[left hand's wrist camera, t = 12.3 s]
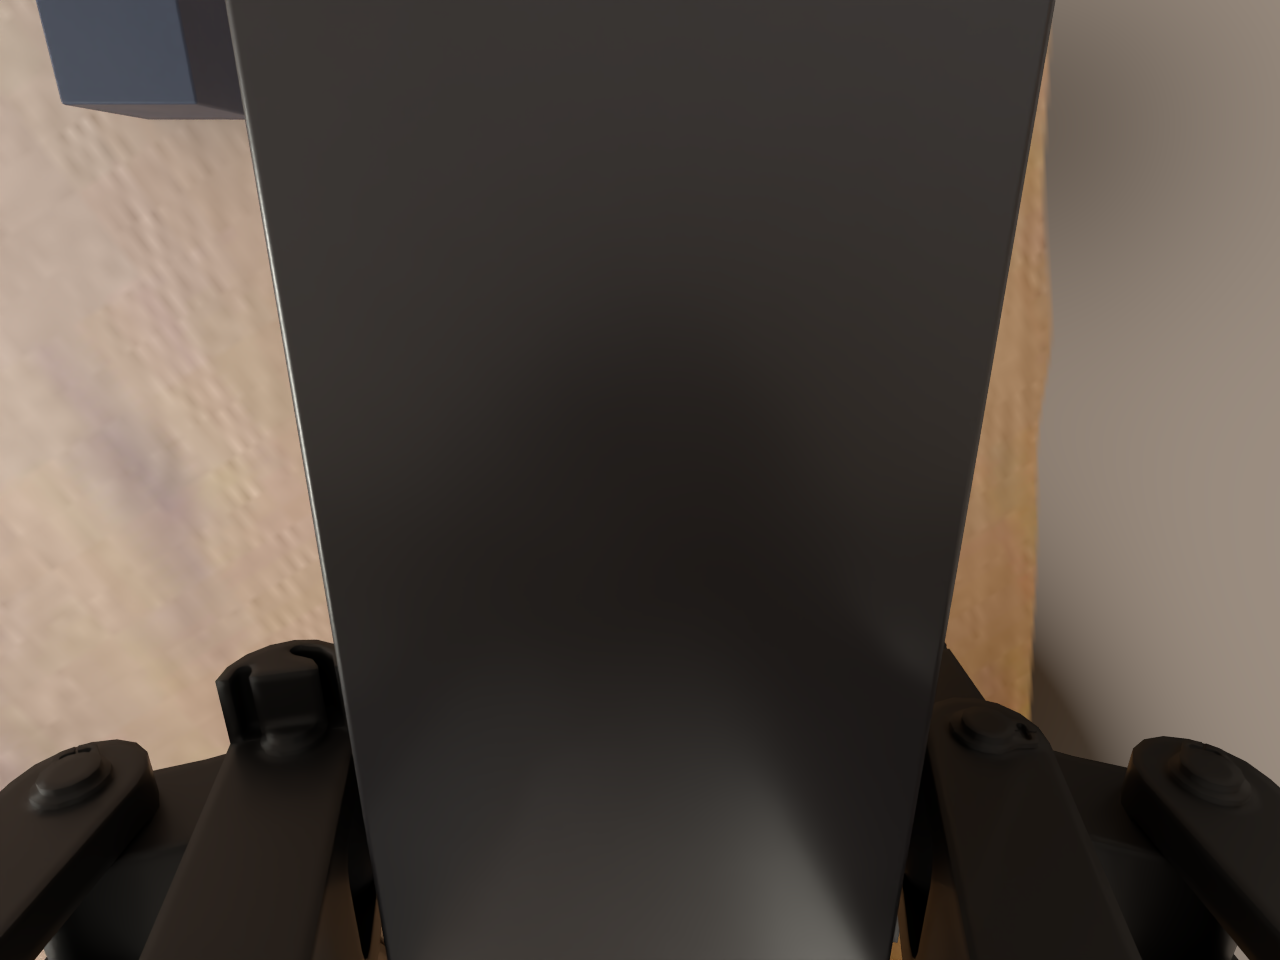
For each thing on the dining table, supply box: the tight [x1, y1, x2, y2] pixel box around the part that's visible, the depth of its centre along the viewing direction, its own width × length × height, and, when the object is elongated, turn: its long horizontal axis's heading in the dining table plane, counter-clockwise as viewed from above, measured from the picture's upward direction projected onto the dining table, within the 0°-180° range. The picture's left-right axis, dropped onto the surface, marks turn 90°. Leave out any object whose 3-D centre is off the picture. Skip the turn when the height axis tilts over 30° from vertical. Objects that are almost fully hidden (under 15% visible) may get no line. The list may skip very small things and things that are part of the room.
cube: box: [36, 0, 245, 119], centre depth 22 cm, size 4×4×4 cm
